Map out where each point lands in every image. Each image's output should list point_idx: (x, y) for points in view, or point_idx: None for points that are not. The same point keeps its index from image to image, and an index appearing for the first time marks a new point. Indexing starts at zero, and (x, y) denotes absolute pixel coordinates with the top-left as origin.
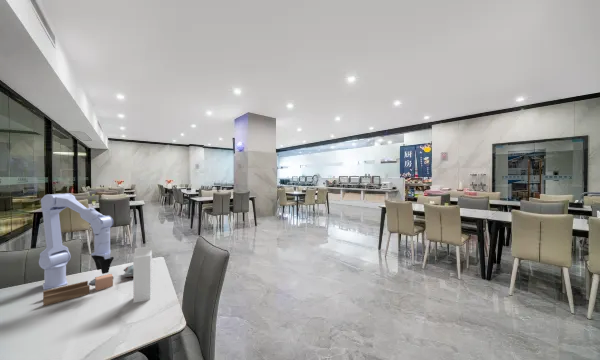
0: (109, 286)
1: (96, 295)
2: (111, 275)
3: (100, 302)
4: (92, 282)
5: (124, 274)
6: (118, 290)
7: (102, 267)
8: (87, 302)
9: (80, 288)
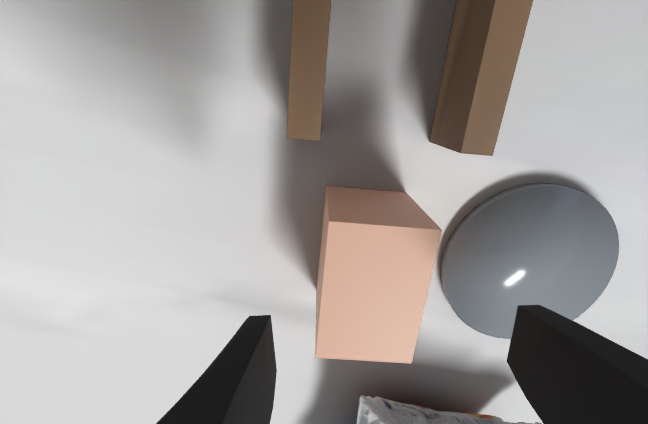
0: (318, 272)
1: (205, 162)
2: (344, 352)
3: (17, 151)
4: (539, 200)
5: (358, 415)
6: (187, 295)
7: (175, 416)
8: (89, 75)
9: (292, 46)
